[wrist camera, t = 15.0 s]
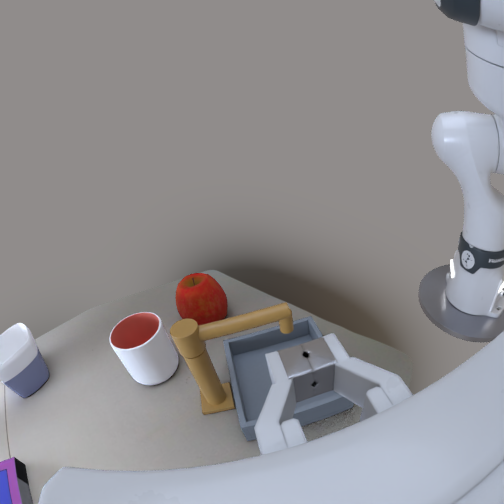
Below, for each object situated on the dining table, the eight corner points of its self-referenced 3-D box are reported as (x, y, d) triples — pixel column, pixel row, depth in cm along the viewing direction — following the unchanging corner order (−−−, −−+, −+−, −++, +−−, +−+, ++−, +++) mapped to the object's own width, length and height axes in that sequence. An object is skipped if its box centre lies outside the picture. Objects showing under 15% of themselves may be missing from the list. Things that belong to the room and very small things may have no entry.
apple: (174, 320, 60) (158, 280, 56) (212, 297, 66) (201, 258, 61) (199, 342, 53) (182, 300, 48) (241, 314, 58) (230, 272, 54)
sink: (312, 333, 49) (310, 315, 47) (353, 407, 34) (356, 391, 32) (229, 357, 48) (223, 340, 46) (247, 441, 32) (240, 428, 30)
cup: (136, 354, 51) (114, 317, 47) (180, 345, 52) (162, 306, 48) (130, 391, 43) (103, 354, 38) (181, 383, 44) (158, 344, 39)
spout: (289, 319, 38) (285, 291, 36) (297, 335, 35) (294, 307, 32) (182, 347, 36) (170, 321, 34) (182, 366, 33) (169, 340, 31)
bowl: (7, 380, 44) (-18, 348, 39) (44, 349, 55) (22, 316, 50) (19, 413, 35) (-12, 378, 30) (62, 376, 46) (35, 339, 41)
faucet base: (230, 384, 42) (210, 333, 37) (235, 408, 38) (213, 359, 32) (201, 391, 42) (175, 341, 36) (203, 415, 37) (175, 367, 32)
